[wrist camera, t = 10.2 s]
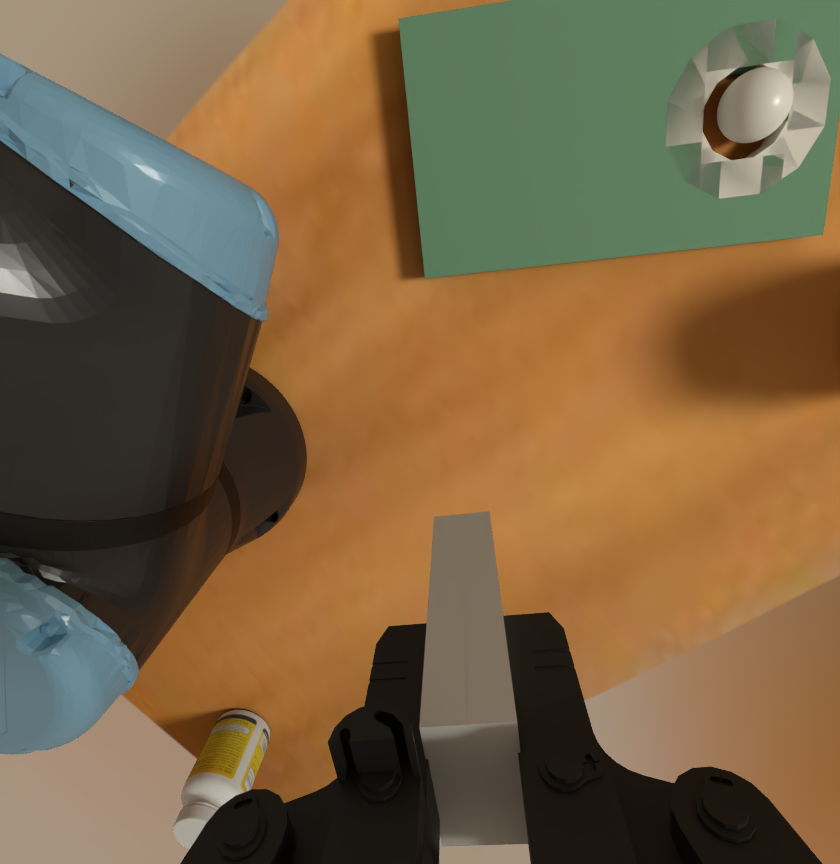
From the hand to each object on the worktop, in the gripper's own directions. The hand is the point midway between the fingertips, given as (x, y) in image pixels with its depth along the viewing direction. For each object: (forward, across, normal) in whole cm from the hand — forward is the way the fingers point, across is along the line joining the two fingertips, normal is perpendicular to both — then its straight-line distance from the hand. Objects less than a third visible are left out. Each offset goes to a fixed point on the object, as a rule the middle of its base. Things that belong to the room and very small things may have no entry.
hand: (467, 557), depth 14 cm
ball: (+22, +18, +13) cm, 31 cm away
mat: (+24, +11, +13) cm, 29 cm away
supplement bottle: (+25, -25, -33) cm, 48 cm away
